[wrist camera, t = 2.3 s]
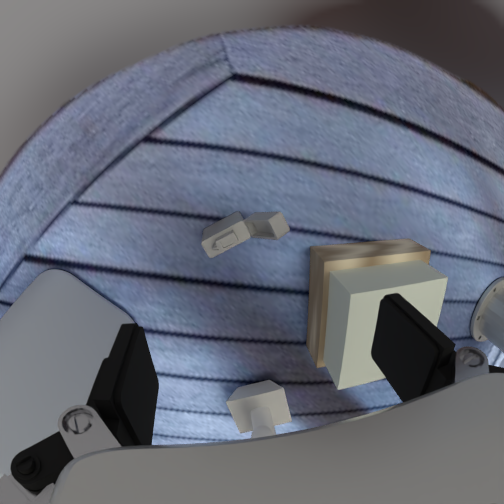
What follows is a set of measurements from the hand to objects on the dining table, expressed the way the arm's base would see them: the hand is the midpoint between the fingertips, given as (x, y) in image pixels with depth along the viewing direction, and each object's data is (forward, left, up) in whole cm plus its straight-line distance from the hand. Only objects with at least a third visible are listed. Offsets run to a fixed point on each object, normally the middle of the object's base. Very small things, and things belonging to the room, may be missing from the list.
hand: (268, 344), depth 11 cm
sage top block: (-14, +10, -16) cm, 24 cm away
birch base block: (-14, +10, -21) cm, 27 cm away
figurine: (-1, +24, -21) cm, 32 cm away
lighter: (0, 0, -21) cm, 21 cm away
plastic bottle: (+21, +12, -21) cm, 32 cm away
